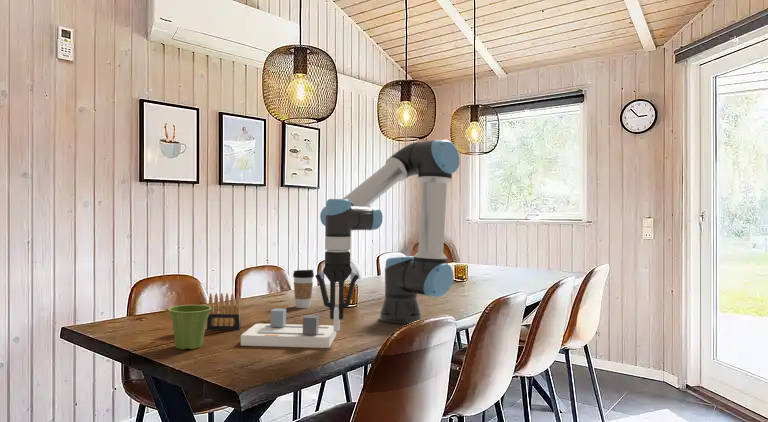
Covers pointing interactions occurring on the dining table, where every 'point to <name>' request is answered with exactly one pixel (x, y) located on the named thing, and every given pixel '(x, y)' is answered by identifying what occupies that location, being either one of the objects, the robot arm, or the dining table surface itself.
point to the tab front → (310, 324)
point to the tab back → (278, 317)
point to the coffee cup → (303, 287)
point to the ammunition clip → (224, 313)
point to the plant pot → (189, 325)
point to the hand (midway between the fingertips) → (336, 330)
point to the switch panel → (287, 336)
